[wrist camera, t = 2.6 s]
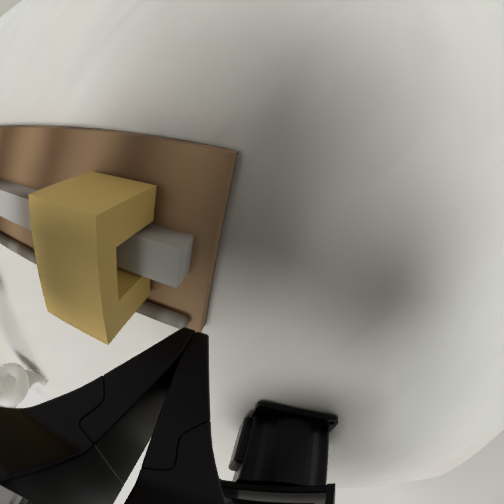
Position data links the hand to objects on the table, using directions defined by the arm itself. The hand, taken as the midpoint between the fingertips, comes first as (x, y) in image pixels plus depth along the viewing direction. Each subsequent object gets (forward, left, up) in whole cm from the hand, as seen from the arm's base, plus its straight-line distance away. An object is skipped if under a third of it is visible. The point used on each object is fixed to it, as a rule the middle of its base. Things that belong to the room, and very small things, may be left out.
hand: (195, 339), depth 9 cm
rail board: (+12, 0, -6) cm, 13 cm away
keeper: (+6, 0, -5) cm, 8 cm away
